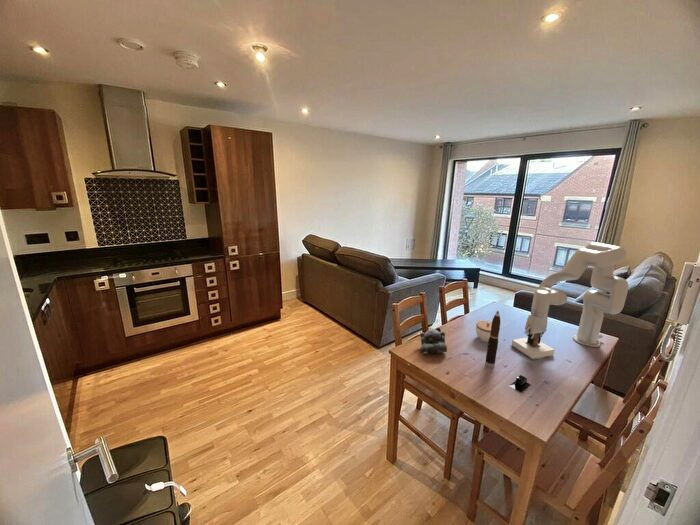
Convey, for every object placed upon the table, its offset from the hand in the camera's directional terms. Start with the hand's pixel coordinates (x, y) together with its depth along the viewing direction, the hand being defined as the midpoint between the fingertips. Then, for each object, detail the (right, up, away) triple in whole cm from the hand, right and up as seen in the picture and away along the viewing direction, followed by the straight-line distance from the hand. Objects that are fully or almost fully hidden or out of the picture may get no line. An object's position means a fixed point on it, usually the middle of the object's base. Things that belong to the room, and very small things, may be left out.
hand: (533, 342), depth 157 cm
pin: (0, -1, 0) cm, 1 cm away
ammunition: (-30, -8, -11) cm, 33 cm away
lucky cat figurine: (-56, -5, +1) cm, 56 cm away
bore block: (0, -5, +1) cm, 5 cm away
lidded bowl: (-20, -2, +13) cm, 24 cm away
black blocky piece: (-23, -13, -26) cm, 37 cm away
